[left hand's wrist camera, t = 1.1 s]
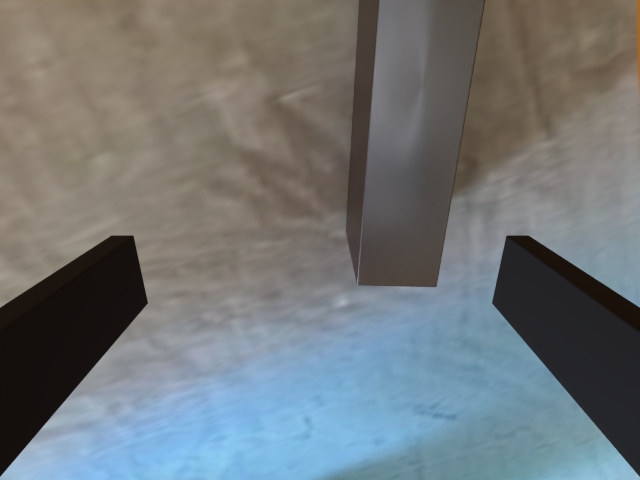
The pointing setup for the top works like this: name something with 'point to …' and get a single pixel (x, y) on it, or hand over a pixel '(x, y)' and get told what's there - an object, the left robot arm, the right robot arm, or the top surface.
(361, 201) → the bar
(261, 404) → the top surface
